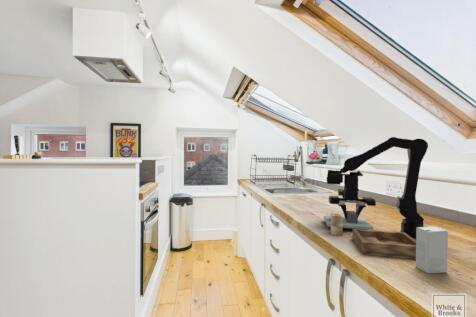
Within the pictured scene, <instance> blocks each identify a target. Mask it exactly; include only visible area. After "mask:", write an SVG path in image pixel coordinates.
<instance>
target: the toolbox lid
mask: <svg viewBox="0 0 476 317" xmlns="http://www.w3.org/2000/svg"><path fill="white" fill-rule="evenodd" d="M346 211H347V219H345V217H344V216H343V229H360V230H374V226H373V225H372V224H370V222H368V221H367V220H366V219H365V218H364V217H358V214H357V213H356V210H346ZM323 219H324V221H325V223H326V226H327V227H328V228H331V215H323Z"/></svg>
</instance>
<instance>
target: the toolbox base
mask: <svg viewBox="0 0 476 317" xmlns="http://www.w3.org/2000/svg"><path fill="white" fill-rule="evenodd" d="M351 229H352V232H351V233H352V235H351V236H352V238H351V239H352V240H353V242H354V243H355V245H356V246H357V248H358V249H359V250H360V252H361V253H362V255H369V256H381V257H390V258H401V259H413V260H416V239H414V238H412V237H410V236H409V235H407V234H406V233H403V232H400V231H399V232H398V231H387V230H374V229H373V230H370V229H355V228H351Z"/></svg>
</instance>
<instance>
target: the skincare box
mask: <svg viewBox="0 0 476 317" xmlns="http://www.w3.org/2000/svg"><path fill="white" fill-rule="evenodd" d="M448 236H449V232H448V230H446V229H444V228H440V227H438V226H437V227H436V226H423V227H417V228H416V238H415V240H416V259H415V267H416V268H418V269H419V270H421V271H423V272H425V273H427V274H442V273H447V272H448V244H449V243H448V241H449V240H448V239H449V237H448Z"/></svg>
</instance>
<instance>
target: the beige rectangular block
mask: <svg viewBox="0 0 476 317" xmlns="http://www.w3.org/2000/svg"><path fill="white" fill-rule="evenodd" d="M330 216H331V227H330V233H331V236H341V237H342V236H343V233H344V231H343V229H344V228H343V217H344V216H343V215H342V214H341V213H333V212H332V213H330Z"/></svg>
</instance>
